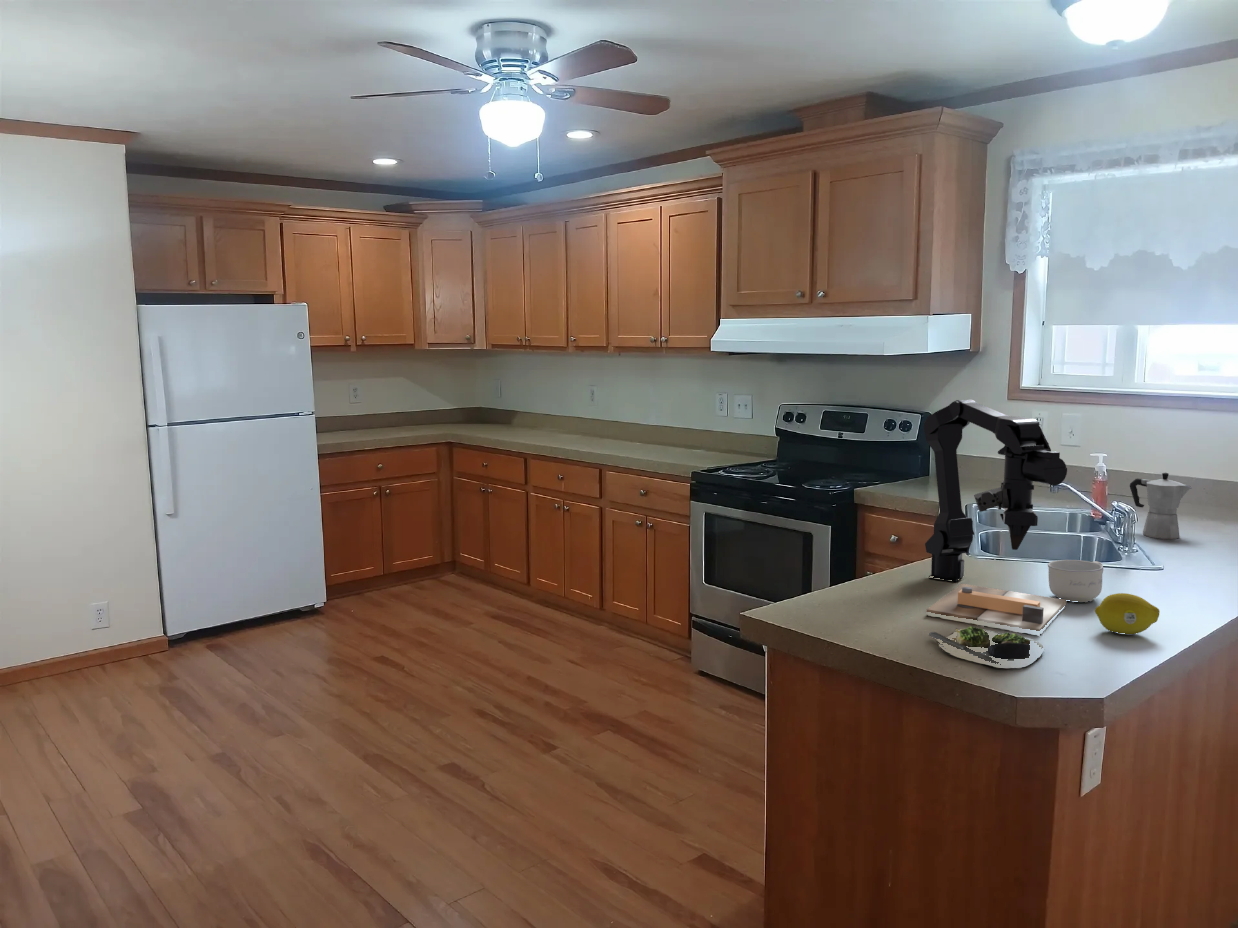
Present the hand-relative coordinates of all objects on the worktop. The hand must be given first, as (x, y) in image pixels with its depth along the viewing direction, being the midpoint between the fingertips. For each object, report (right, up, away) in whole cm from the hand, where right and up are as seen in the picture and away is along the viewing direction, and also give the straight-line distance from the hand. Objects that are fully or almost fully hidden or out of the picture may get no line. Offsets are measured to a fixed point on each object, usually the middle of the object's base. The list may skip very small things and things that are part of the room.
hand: (1014, 549), depth 193 cm
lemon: (+14, -15, -18) cm, 27 cm away
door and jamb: (-5, -13, -3) cm, 14 cm away
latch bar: (-7, -12, -8) cm, 15 cm away
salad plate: (-16, -17, -27) cm, 36 cm away
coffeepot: (+68, -2, +62) cm, 92 cm away
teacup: (+16, -12, +5) cm, 21 cm away
